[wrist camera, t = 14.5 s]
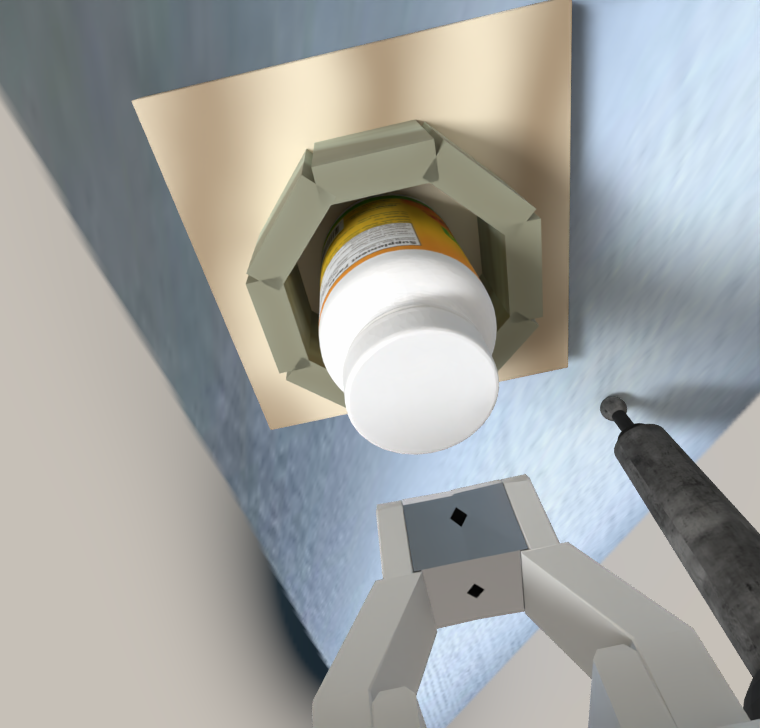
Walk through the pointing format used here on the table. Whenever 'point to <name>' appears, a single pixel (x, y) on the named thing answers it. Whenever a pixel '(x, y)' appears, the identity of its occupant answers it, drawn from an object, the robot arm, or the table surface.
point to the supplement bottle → (406, 326)
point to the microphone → (698, 532)
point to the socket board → (378, 183)
